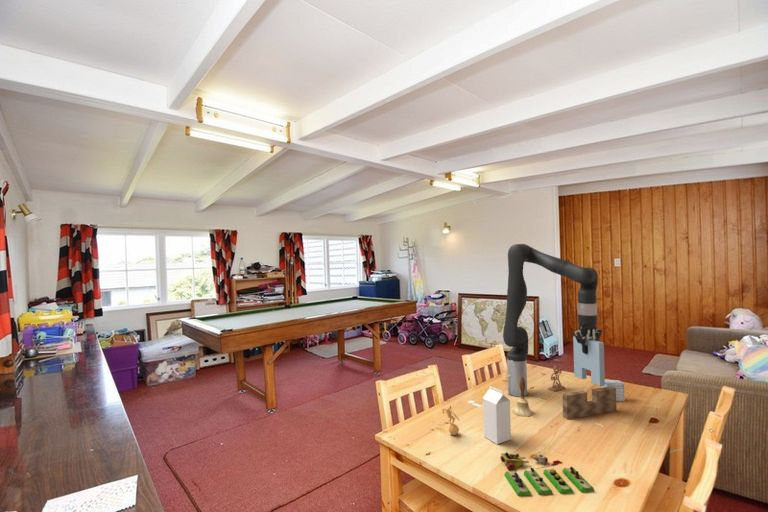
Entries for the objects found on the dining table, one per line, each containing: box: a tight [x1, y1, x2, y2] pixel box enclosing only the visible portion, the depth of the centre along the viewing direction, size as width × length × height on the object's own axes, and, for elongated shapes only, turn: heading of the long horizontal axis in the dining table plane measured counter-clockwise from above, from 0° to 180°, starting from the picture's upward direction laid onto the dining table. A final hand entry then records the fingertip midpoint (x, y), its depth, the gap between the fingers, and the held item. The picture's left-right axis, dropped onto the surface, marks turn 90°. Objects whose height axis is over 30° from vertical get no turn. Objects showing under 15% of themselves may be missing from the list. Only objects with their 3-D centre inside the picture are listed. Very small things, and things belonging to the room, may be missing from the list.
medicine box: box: [601, 379, 625, 402], centre depth 175 cm, size 8×4×9 cm, turn 84°
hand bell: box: [512, 376, 534, 417], centre depth 163 cm, size 8×8×16 cm
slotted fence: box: [562, 386, 617, 420], centre depth 160 cm, size 26×2×10 cm, turn 105°
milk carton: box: [482, 385, 512, 445], centre depth 141 cm, size 7×7×19 cm
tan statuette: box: [547, 365, 566, 393], centre depth 190 cm, size 9×4×12 cm, turn 120°
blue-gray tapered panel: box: [572, 335, 606, 387], centre depth 160 cm, size 14×2×18 cm, turn 15°
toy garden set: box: [500, 451, 595, 497], centre depth 118 cm, size 23×19×5 cm
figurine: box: [441, 404, 460, 436], centre depth 145 cm, size 8×6×12 cm
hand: (588, 352), depth 160 cm, fingers closed on blue-gray tapered panel, 2 cm apart
